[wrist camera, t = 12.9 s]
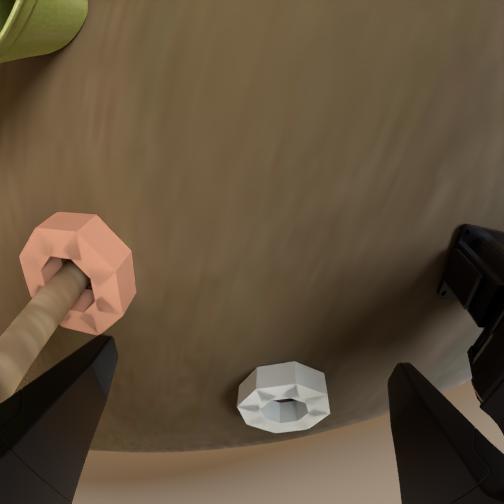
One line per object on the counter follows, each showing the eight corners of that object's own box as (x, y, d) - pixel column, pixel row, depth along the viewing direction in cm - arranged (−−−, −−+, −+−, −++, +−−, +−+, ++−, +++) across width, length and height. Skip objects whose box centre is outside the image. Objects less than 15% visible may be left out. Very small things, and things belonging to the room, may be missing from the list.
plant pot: (-2, 48, 15) (-82, 56, 7) (59, -50, 11) (-12, -77, 3) (60, 96, 17) (-30, 114, 9) (138, -17, 13) (66, -61, 6)
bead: (321, 356, 26) (324, 378, 24) (329, 405, 30) (331, 425, 28) (231, 370, 28) (228, 391, 26) (254, 415, 31) (253, 435, 29)
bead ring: (128, 217, 21) (110, 235, 19) (140, 318, 26) (128, 341, 23) (33, 210, 21) (12, 225, 19) (54, 301, 26) (39, 320, 23)
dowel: (100, 260, 23) (0, 396, 11) (94, 284, 24) (7, 415, 12) (74, 246, 23) (-34, 369, 10) (69, 270, 24) (-25, 391, 11)
